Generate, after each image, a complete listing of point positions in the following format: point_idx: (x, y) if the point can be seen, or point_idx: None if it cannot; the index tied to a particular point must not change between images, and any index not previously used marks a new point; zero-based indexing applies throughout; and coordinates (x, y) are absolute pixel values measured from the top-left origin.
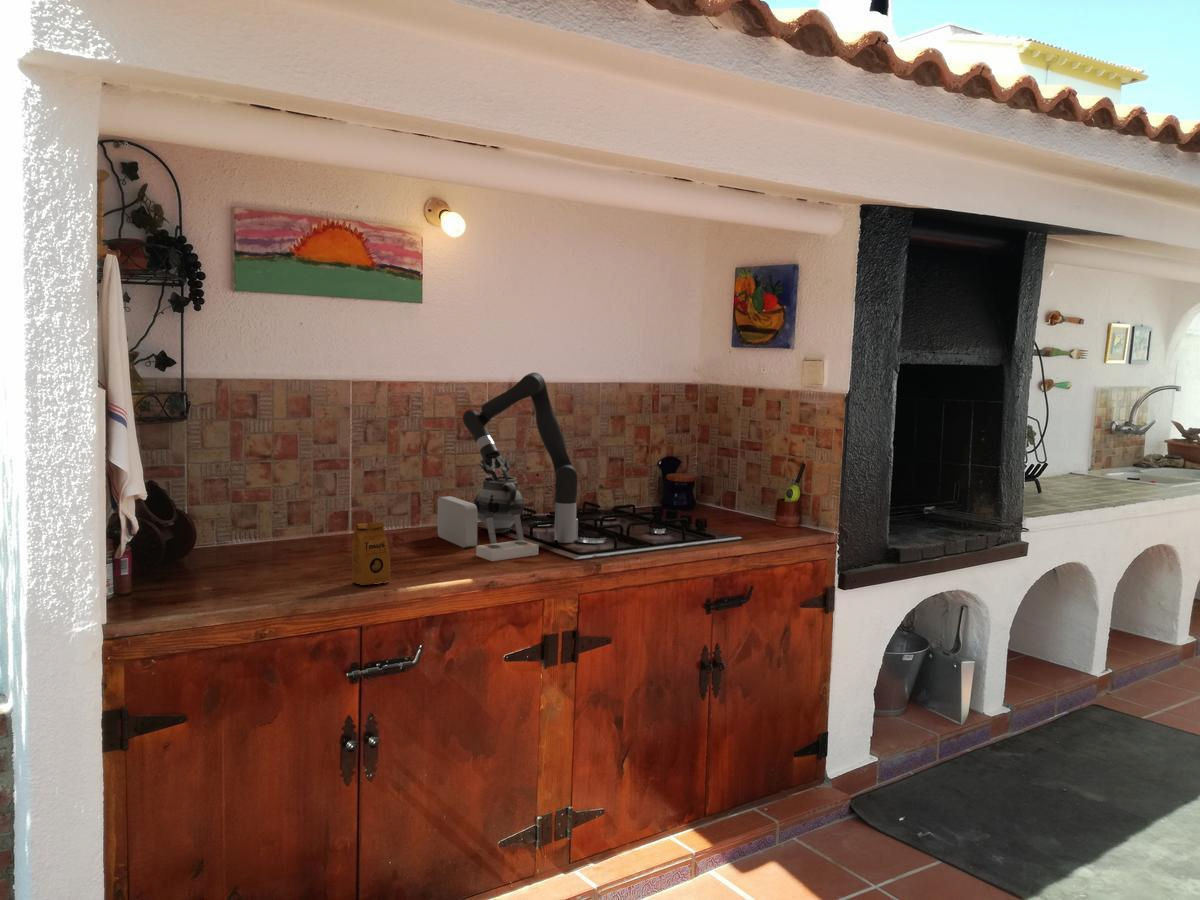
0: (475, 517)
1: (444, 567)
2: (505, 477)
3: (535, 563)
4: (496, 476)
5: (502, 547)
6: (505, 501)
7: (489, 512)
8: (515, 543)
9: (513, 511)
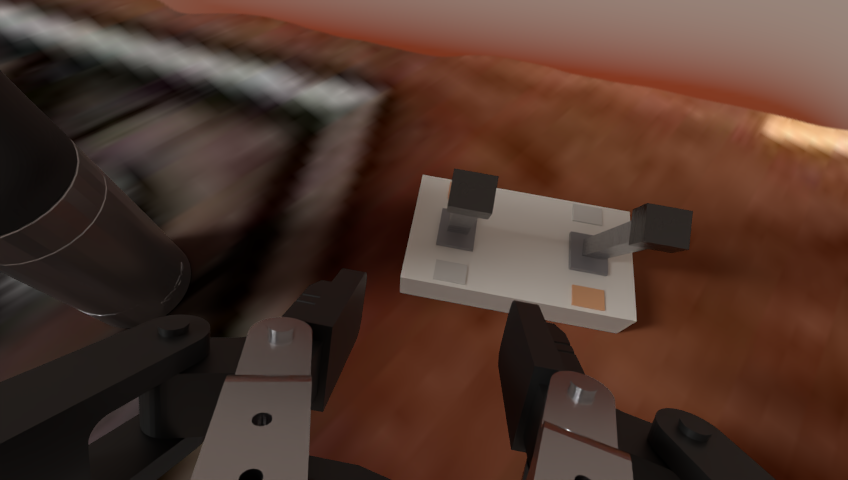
0: None
1: (797, 271)
2: (352, 327)
3: (512, 131)
4: (543, 320)
5: (561, 230)
6: None
7: (672, 208)
8: (473, 246)
9: (495, 188)
